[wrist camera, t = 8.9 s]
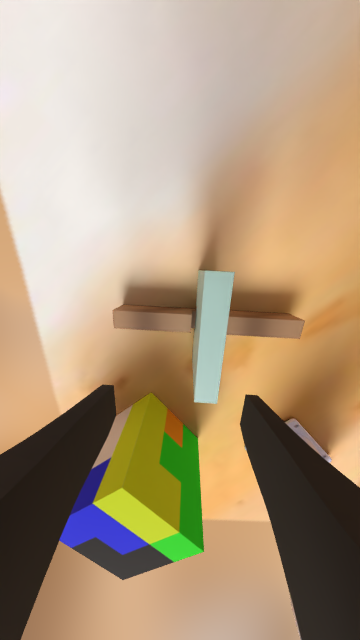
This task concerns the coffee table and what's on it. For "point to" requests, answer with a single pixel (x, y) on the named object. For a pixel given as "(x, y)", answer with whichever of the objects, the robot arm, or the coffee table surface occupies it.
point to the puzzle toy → (140, 495)
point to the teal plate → (210, 332)
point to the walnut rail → (186, 318)
